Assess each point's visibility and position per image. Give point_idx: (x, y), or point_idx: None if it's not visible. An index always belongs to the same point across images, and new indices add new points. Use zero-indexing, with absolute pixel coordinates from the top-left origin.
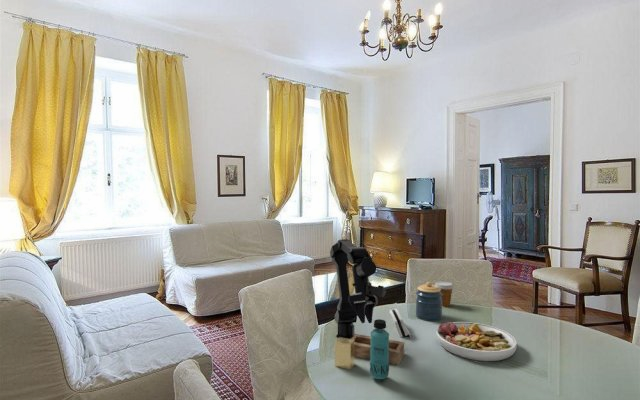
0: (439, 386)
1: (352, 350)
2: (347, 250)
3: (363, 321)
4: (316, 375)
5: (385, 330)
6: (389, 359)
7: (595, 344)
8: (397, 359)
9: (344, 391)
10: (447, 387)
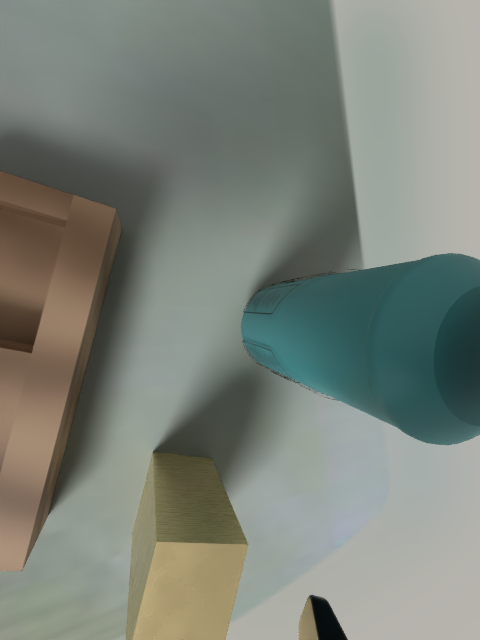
0: (291, 78)
1: (196, 504)
2: None
3: (331, 630)
4: (284, 578)
5: (477, 288)
6: (108, 274)
7: None
8: (118, 227)
9: (369, 442)
10: (293, 46)
